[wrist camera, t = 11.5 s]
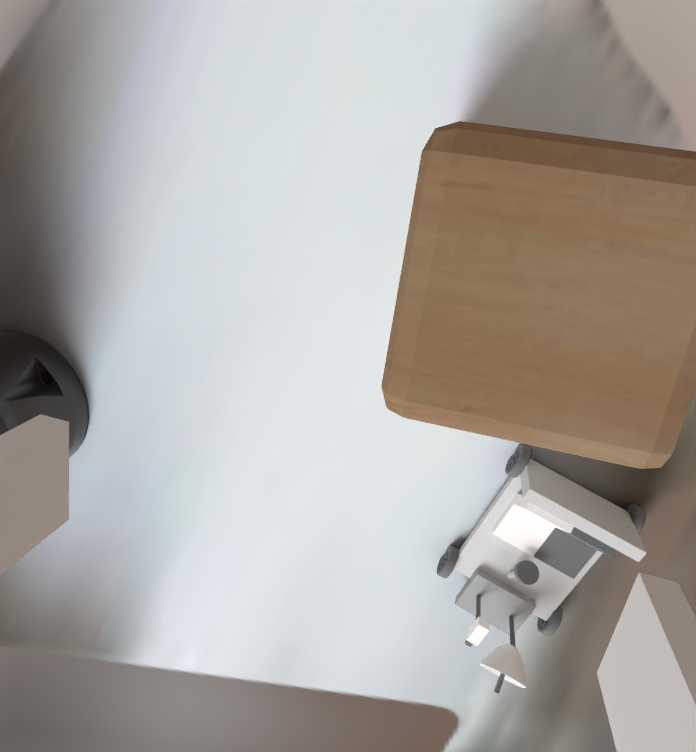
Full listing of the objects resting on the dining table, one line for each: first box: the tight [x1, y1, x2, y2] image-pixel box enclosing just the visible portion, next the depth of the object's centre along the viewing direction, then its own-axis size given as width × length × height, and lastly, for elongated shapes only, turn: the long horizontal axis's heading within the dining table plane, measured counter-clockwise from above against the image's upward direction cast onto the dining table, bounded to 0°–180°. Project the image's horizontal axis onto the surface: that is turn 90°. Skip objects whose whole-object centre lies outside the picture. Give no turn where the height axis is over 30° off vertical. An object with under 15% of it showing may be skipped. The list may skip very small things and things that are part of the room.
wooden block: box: [382, 121, 696, 469], centre depth 27 cm, size 10×10×20 cm
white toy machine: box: [437, 444, 647, 694], centre depth 49 cm, size 18×10×12 cm
